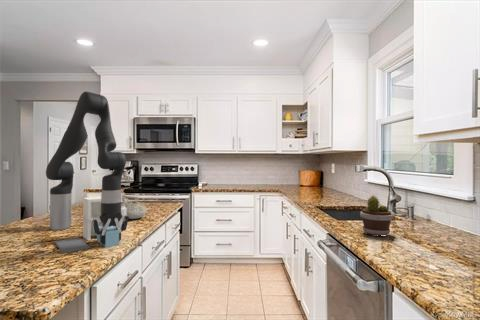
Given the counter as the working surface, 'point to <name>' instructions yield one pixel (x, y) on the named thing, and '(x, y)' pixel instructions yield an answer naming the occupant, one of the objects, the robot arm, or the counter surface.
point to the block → (110, 237)
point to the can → (123, 212)
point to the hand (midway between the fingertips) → (110, 242)
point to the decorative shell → (134, 209)
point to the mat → (71, 245)
